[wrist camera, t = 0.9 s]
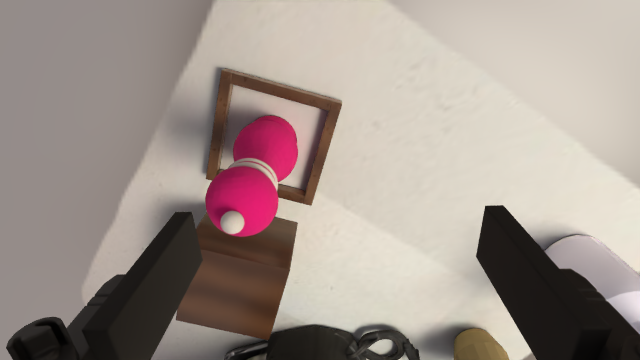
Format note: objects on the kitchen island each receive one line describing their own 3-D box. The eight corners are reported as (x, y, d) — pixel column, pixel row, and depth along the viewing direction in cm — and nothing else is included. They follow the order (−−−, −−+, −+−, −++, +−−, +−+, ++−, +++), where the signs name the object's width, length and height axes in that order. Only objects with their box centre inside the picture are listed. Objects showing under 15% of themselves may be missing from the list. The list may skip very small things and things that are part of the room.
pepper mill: (253, 170, 46) (201, 273, 28) (235, 117, 43) (164, 195, 25) (306, 160, 45) (289, 259, 27) (292, 105, 42) (262, 176, 24)
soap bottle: (597, 223, 47) (828, 408, 25) (609, 271, 51) (822, 471, 29) (530, 248, 50) (689, 439, 27) (545, 292, 53) (698, 494, 31)
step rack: (225, 67, 40) (194, 84, 31) (341, 100, 41) (344, 125, 32) (195, 266, 53) (167, 318, 44) (285, 287, 54) (276, 342, 45)
